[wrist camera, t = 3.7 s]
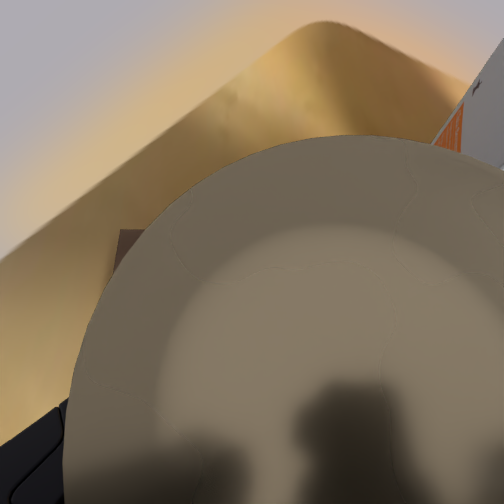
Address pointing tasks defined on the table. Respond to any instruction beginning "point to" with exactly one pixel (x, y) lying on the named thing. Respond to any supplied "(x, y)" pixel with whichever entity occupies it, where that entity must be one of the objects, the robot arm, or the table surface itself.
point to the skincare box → (479, 116)
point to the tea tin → (303, 337)
